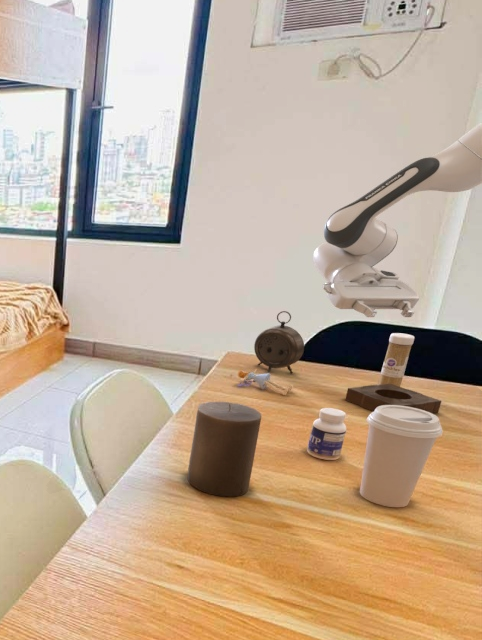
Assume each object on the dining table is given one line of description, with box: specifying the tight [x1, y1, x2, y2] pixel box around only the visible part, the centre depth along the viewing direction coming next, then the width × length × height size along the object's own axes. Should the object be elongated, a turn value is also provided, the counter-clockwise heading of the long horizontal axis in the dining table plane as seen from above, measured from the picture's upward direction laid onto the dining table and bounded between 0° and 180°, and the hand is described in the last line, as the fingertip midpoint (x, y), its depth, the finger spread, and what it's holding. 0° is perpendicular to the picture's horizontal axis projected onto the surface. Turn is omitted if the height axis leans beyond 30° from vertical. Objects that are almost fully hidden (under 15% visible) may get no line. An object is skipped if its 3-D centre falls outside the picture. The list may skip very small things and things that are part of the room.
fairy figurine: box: [237, 368, 294, 396], centre depth 154 cm, size 12×5×12 cm
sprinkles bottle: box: [377, 332, 415, 387], centre depth 151 cm, size 5×5×13 cm
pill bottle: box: [306, 407, 347, 461], centre depth 118 cm, size 5×5×9 cm
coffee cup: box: [359, 405, 443, 508], centre depth 101 cm, size 10×10×15 cm
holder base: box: [344, 384, 442, 415], centre depth 141 cm, size 12×12×3 cm
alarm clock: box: [253, 310, 305, 375], centre depth 165 cm, size 11×5×16 cm, turn 34°
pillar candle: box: [187, 401, 262, 498], centre depth 107 cm, size 10×10×15 cm
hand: (391, 315), depth 151 cm, fingers open, 8 cm apart
